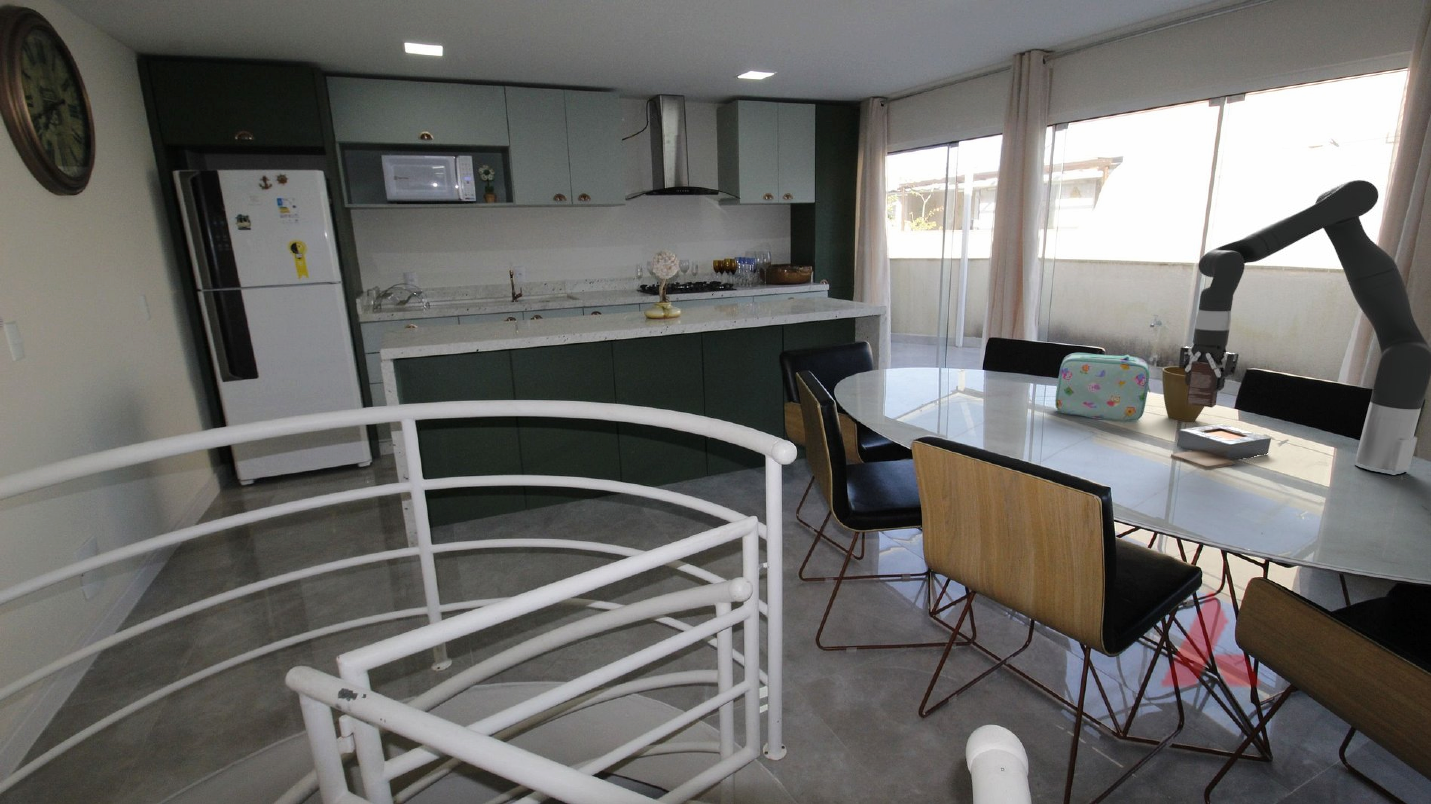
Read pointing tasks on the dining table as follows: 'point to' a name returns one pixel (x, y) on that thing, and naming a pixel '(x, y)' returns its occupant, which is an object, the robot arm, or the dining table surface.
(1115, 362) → the lunch box
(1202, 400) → the box
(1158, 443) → the dining table surface
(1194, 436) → the breaker guard
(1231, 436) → the button
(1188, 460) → the walnut pad
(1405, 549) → the dining table surface
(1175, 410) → the plant pot
